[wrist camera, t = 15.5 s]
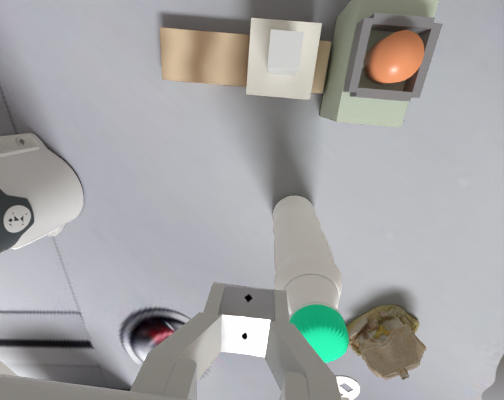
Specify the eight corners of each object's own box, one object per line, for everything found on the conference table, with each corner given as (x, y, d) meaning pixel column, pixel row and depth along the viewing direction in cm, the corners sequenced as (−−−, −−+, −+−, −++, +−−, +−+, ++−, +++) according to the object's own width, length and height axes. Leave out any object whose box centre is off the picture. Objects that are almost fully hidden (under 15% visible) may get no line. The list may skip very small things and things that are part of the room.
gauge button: (359, 82, 25) (370, 80, 23) (370, 36, 24) (383, 28, 21) (399, 85, 25) (415, 84, 23) (412, 39, 24) (431, 32, 21)
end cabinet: (319, 115, 37) (340, 123, 25) (337, 14, 32) (373, -32, 21) (367, 120, 36) (410, 129, 25) (392, 18, 32) (458, -26, 21)
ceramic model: (399, 294, 48) (430, 341, 38) (425, 330, 51) (459, 382, 41) (335, 324, 52) (349, 373, 42) (362, 356, 54) (380, 409, 45)
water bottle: (264, 208, 43) (257, 336, 20) (300, 186, 41) (338, 299, 18) (287, 238, 45) (305, 387, 21) (322, 218, 43) (383, 358, 20)
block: (167, 80, 36) (162, 79, 34) (165, 31, 34) (159, 27, 32) (319, 93, 35) (322, 93, 34) (328, 44, 33) (331, 41, 31)
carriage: (248, 94, 34) (239, 92, 25) (252, 25, 31) (245, -7, 22) (306, 99, 34) (320, 99, 24) (317, 30, 31) (337, 0, 21)
